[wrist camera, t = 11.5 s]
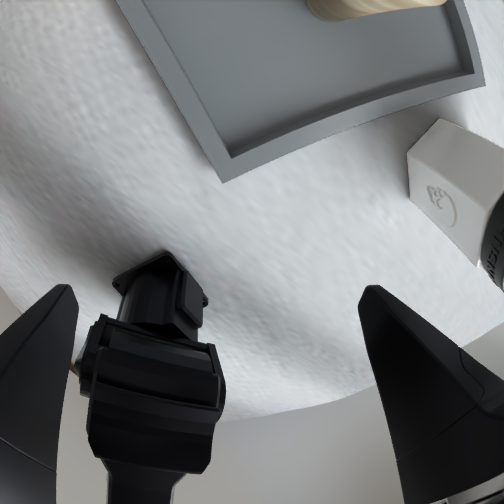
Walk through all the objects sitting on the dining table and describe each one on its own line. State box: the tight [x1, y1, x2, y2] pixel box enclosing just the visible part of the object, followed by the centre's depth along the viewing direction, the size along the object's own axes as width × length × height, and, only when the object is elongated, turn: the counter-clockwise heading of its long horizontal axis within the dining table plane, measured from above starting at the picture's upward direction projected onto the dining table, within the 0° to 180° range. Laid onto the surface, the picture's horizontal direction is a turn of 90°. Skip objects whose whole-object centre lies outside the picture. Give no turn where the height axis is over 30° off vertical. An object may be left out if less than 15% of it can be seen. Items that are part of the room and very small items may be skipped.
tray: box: [116, 0, 486, 184], centre depth 12 cm, size 22×16×2 cm
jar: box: [407, 118, 504, 292], centre depth 15 cm, size 9×8×12 cm
